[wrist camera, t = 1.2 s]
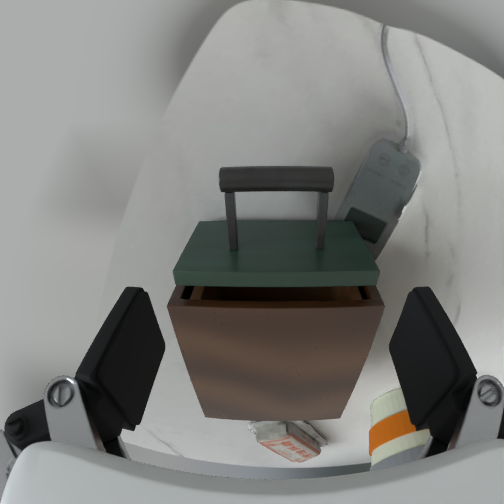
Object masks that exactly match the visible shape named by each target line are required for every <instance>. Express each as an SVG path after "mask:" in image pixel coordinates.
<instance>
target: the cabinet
mask: <svg viewBox="0 0 504 504" xmlns="http://www.w3.org/2000/svg"><path fill="white" fill-rule="evenodd" d="M194 287H195V286H178V285H176V287H175V289H174V291H173V293H172V296H171V298H170V300H169V302H168V304H167V308H168V311H169V315H170V318H171V321H172V325H173V328H174V331H175V334H176V338H177V341H178V344H179V347H180V350H181V353H182V356H183V359H184V362H185V365H186V368H187V370H188V373H189V376H190V379H191V381H192V384H193V387H194V390H195V392H196V395H197V397H198V400H199V403H200V405H201V408H202V410H203V413H204V415H205V417H208V418H219V419H232V420H250V421H305V420H324V419H336V418H340V417H341V415H342V413H343V411H344V409H345V407H346V405H347V402H348V400H349V398H350V396H351V394H352V392H353V389H354V387H355V385H356V382H357V380H358V378H359V375H360V373H361V371H362V368H363V366H364V363H365V361H366V358H367V356H368V353H369V350H370V348H371V345H372V342H373V340H374V337H375V334H376V331H377V328H378V326H379V323H380V320H381V317H382V313H383V310H384V307H385V305H384V303H383V300H382V299H381V296H380V294H379V292H378V289H377V287H376V286H358V289H359V292H360V294H361V297H362V300H336V301H220V300H190V298H191V295H192V292H193V289H194Z"/></svg>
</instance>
